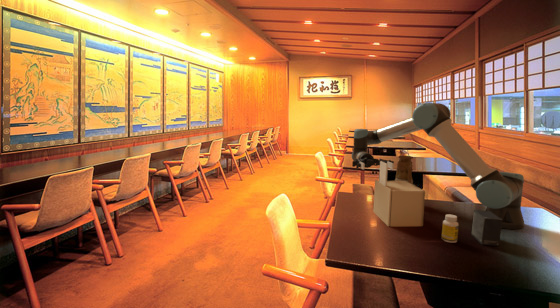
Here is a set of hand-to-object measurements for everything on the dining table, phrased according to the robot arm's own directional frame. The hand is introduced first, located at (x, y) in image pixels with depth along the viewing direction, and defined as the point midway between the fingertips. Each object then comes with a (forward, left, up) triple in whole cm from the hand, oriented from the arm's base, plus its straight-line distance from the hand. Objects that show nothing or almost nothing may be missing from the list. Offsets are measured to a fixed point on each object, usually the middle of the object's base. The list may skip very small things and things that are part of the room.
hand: (378, 166), depth 148 cm
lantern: (+14, -28, -24) cm, 39 cm away
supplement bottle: (-33, -8, -24) cm, 42 cm away
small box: (-38, -21, -24) cm, 50 cm away
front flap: (-5, +1, -23) cm, 24 cm away
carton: (-7, -6, -24) cm, 26 cm away
